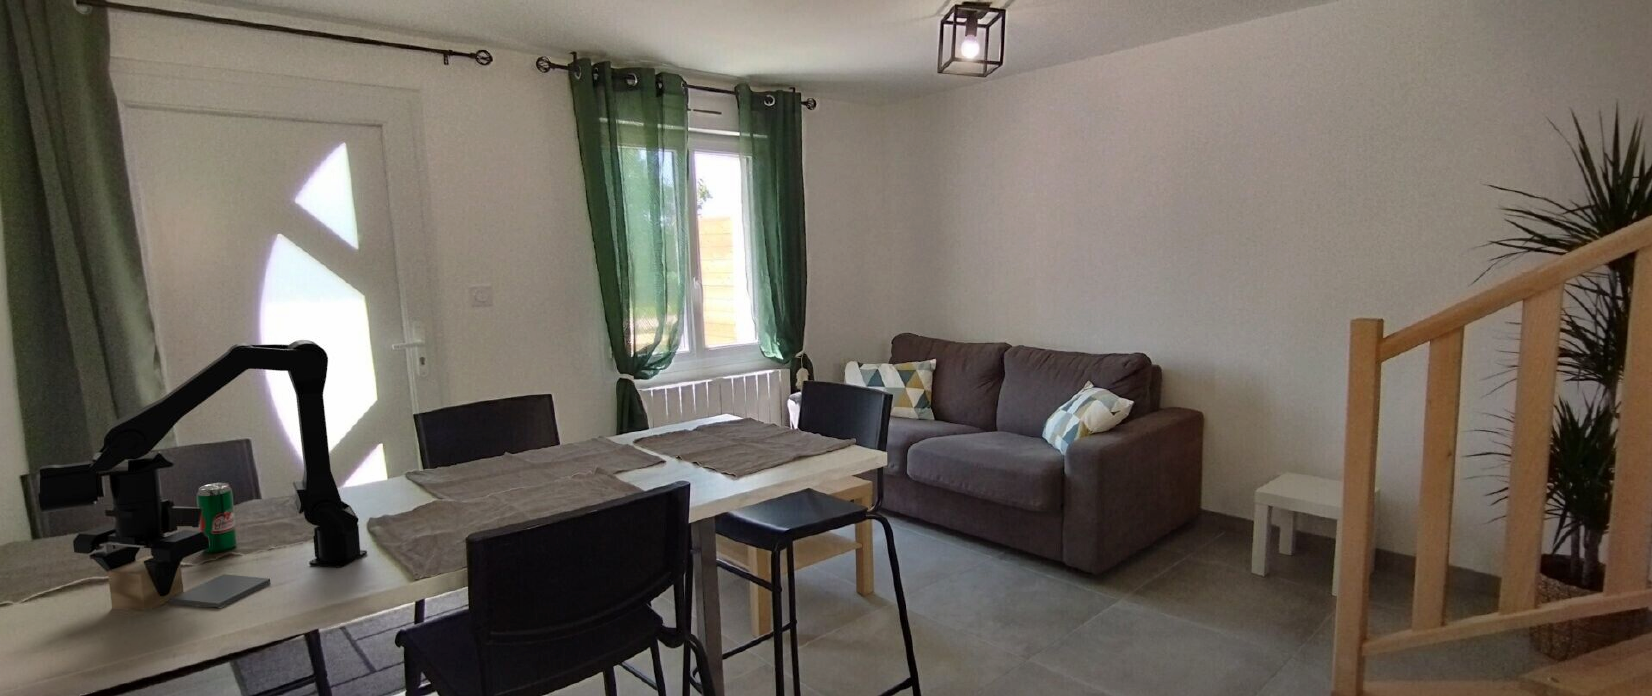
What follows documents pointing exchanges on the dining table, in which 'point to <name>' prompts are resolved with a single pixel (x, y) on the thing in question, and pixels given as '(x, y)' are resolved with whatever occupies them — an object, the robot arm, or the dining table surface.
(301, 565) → the dining table surface
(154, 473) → the robot arm
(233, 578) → the slate coaster
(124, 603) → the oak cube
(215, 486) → the soda can
